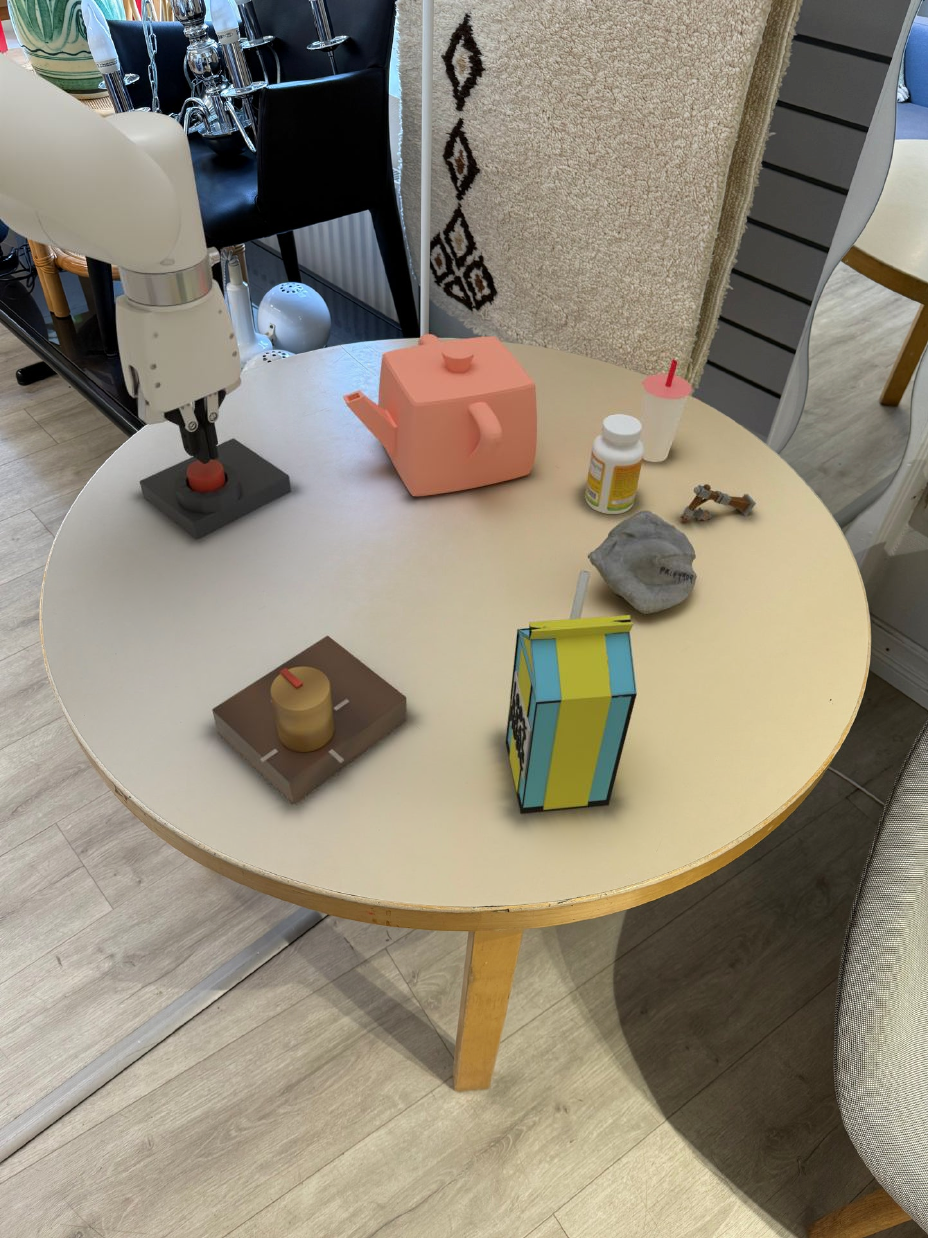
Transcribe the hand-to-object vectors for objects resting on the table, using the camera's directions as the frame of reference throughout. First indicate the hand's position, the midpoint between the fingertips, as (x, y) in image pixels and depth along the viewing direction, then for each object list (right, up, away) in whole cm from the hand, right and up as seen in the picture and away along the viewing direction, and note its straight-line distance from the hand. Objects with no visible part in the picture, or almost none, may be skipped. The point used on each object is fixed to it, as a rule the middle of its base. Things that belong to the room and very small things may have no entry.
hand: (203, 455), depth 91 cm
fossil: (+43, -14, -2) cm, 45 cm away
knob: (+14, -25, -20) cm, 35 cm away
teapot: (+23, +1, +12) cm, 26 cm away
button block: (0, -3, +7) cm, 7 cm away
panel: (+14, -25, -16) cm, 33 cm away
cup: (+48, +3, +15) cm, 51 cm away
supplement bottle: (+42, -4, +8) cm, 43 cm away
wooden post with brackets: (+53, -6, +7) cm, 54 cm away
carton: (+33, -29, -18) cm, 48 cm away
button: (0, -2, +2) cm, 3 cm away
